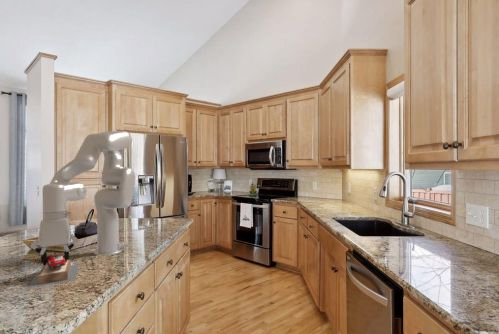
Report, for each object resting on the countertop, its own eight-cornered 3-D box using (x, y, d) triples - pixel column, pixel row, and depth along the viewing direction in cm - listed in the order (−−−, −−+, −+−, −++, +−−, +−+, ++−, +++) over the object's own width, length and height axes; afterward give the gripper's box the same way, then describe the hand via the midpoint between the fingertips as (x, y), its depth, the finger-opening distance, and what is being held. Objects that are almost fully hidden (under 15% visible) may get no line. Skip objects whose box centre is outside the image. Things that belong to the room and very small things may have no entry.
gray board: (78, 266, 121) (78, 264, 121) (75, 282, 105) (75, 280, 105) (37, 272, 115) (37, 270, 115) (27, 290, 98) (27, 288, 98)
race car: (44, 262, 113) (44, 251, 113) (61, 258, 117) (60, 249, 117) (48, 270, 103) (48, 259, 103) (66, 267, 107) (66, 256, 107)
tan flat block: (70, 267, 118) (70, 259, 118) (67, 279, 105) (67, 270, 105) (44, 271, 114) (44, 263, 114) (37, 284, 101) (37, 275, 101)
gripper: (81, 212, 117) (82, 256, 117) (28, 216, 109) (29, 263, 109) (80, 215, 110) (81, 261, 110) (24, 219, 102) (25, 270, 102)
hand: (55, 262), depth 110 cm, fingers closed on race car, 6 cm apart
